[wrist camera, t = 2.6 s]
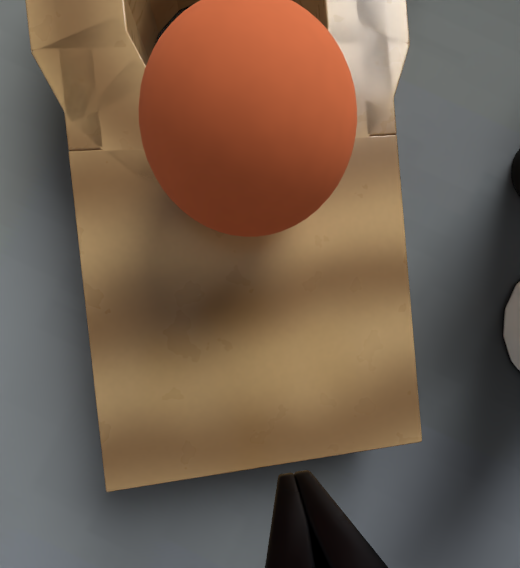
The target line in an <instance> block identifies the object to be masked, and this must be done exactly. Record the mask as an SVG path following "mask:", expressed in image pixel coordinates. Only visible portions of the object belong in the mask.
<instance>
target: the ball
mask: <svg viewBox="0 0 520 568" xmlns="http://www.w3.org/2000/svg"><path fill="white" fill-rule="evenodd" d="M138 109H139V126H140V132H141V138H142V144H143V148H144V151H145V154H146V158H147V160H148V162H149V165H150V167H151V169H152V171H153V173H154V175H155V177H156V179H157V181H158V182H159V184H160V185H161V187H162V189H163V190H164V191H165V193H166V194H167V195H168V196H169V198H170V199H171V200H172V201H173V202H174V203H175V204H176V205H177V206H178V207H179V208H180V209H181V210H182V211H183V212H185V213H186V214H187V215H189V216H190V217H191V218H193V219H194V220H195V221H197V222H199V223H201V224H202V225H204V226H206V227H208V228H211V229H213V230H216V231H218V232H221V233H225V234H229V235H235V236H243V237H257V236H265V235H271V234H274V233H278V232H281V231H284V230H286V229H288V228H291V227H293V226H295V225H297V224H298V223H300V222H302V221H303V220H305V219H307V218H308V217H309V216H311V215H312V214H313V213H314V212H316V211H317V210H318V209H319V208H320V207H321V206H322V204H323V203H324V202H325V201H326V200H327V199H328V198H329V197H330V195H331V194H332V193H333V191H334V190H335V189H336V187H337V186H338V184H339V182H340V180H341V178H342V176H343V175H344V172H345V170H346V168H347V165H348V163H349V160H350V158H351V154H352V150H353V146H354V142H355V136H356V127H357V103H356V95H355V88H354V83H353V80H352V76H351V72H350V70H349V67H348V65H347V62H346V60H345V57H344V55H343V53H342V51H341V49H340V47H339V46H338V44H337V42H336V41H335V39H334V38H333V36H332V35H331V34H330V32H329V31H328V30H327V29H326V28H325V26H324V25H323V24H322V23H321V22H320V21H319V20H318V19H317V18H316V17H314V16H313V15H312V14H311V13H310V12H309V11H307V10H306V9H305V8H303V7H302V6H300V5H299V4H297V3H296V2H294V1H292V0H200V1H198V2H197V3H195V4H193V5H192V6H190V7H189V8H187V9H186V10H185V11H183V12H182V13H181V14H180V15H179V16H178V17H177V18H176V19H175V20H174V21H173V22H172V23H171V24H170V25H169V26H168V28H167V29H166V30H165V31H164V33H163V34H162V35H161V36H160V38H159V40H158V41H157V43H156V45H155V47H154V48H153V50H152V53H151V55H150V58H149V60H148V63H147V65H146V68H145V70H144V74H143V78H142V82H141V88H140V97H139V107H138Z"/></svg>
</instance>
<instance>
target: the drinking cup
mask: <svg viewBox="0 0 520 568" xmlns="http://www.w3.org/2000/svg"><path fill="white" fill-rule="evenodd" d="M512 179H513V183H514V186H515V189H516V191H517V193H518V194H519V196H520V149H519V151H518V152H517V154H516V156H515V158H514V161H513V166H512Z"/></svg>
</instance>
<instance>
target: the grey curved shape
mask: <svg viewBox="0 0 520 568" xmlns="http://www.w3.org/2000/svg"><path fill="white" fill-rule="evenodd" d="M503 337H504V340H505V344H506V347H507V350H508V353H509V357H510V360H511V361H512V362H513V364H514V365H515V366H516V367H517V369H518V370H519V371H520V282H518V283H517V284H516V285H515V288H514V290H513V292H512V294H511V297H510V299H509V301H508V303H507V305H506V308H505V314H504V327H503Z"/></svg>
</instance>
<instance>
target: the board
mask: <svg viewBox="0 0 520 568" xmlns="http://www.w3.org/2000/svg"><path fill="white" fill-rule="evenodd" d="M25 1H26V10H27V19H28V28H29V36H30V45H31V51H32V55H33V56H34V58H35V60H36V62H37V64H38V65H39V67H40V69H41V71H42V73H43V75H44V76H45V78H46V80H47V82H48V84H49V85H50V87H51V89H52V91H53V93H54V94H55V96H56V98H57V100H58V102H59V103H60V105H61V107H62V109H63V111H64V114H65V123H66V132H67V141H68V149H69V151H70V152H69V161H70V170H71V179H72V188H73V197H74V206H75V215H76V224H77V233H78V242H79V251H80V260H81V269H82V278H83V287H84V296H85V305H86V314H87V323H88V332H89V341H90V350H91V359H92V368H93V378H94V387H95V396H96V405H97V414H98V423H99V432H100V441H101V450H102V459H103V468H104V477H105V486H106V492H111V491H117V490H123V489H130V488H136V487H142V486H148V485H155V484H161V483H167V482H173V481H180V480H186V479H192V478H198V477H205V476H211V475H217V474H223V473H230V472H236V471H242V470H248V469H255V468H261V467H267V466H273V465H280V464H286V463H292V462H298V461H305V460H311V459H317V458H323V457H330V456H336V455H342V454H348V453H355V452H361V451H367V450H373V449H379V448H386V447H392V446H398V445H404V444H411V443H417V442H422V435H421V423H420V411H419V399H418V387H417V375H416V363H415V351H414V339H413V327H412V315H411V303H410V291H409V279H408V267H407V255H406V243H405V231H404V219H403V206H402V194H401V182H400V170H399V158H398V146H397V136H396V122H395V110H394V95H395V92H396V89H397V85H398V82H399V79H400V75H401V72H402V69H403V65H404V62H405V59H406V55H407V52H408V49H409V30H408V18H407V6H406V0H292V1H294V2H296V3H297V4H299V5H300V6H302V7H303V8H305V9H306V10H307V11H309V12H310V13H311V14H312V15H313V16H314V17H316V18H317V19H318V20H319V21H320V22H321V23H322V24H323V25H324V26H325V28H326V29H327V30H328V31H329V32H330V34H331V35H332V36H333V38H334V39H335V41H336V42H337V44H338V46H339V47H340V49H341V51H342V53H343V55H344V57H345V60H346V62H347V65H348V67H349V70H350V72H351V76H352V80H353V83H354V88H355V95H356V103H357V127H356V136H355V142H354V146H353V150H352V154H351V158H350V160H349V163H348V165H347V168H346V170H345V172H344V175H343V176H342V178H341V180H340V182H339V184H338V186H337V187H336V189H335V190H334V191H333V193H332V194H331V195H330V197H329V198H328V199H327V200H326V201H325V202H324V203H323V204H322V206H321V207H320V208H319V209H318V210H317V211H316V212H314V213H313V214H312V215H311V216H309V217H308V218H307V219H305V220H303V221H302V222H300V223H298V224H297V225H295V226H293V227H291V228H288V229H286V230H284V231H281V232H278V233H274V234H271V235H265V236H257V237H243V236H235V235H229V234H225V233H221V232H218V231H216V230H213V229H211V228H208V227H206V226H204V225H202V224H201V223H199V222H197V221H195V220H194V219H193V218H191V217H190V216H189V215H187V214H186V213H185V212H183V211H182V210H181V209H180V208H179V207H178V206H177V205H176V204H175V203H174V202H173V201H172V200H171V199H170V198H169V196H168V195H167V194H166V193H165V191H164V190H163V189H162V187H161V185H160V184H159V182H158V181H157V179H156V177H155V175H154V173H153V171H152V169H151V167H150V165H149V162H148V160H147V158H146V154H145V151H144V148H143V144H142V138H141V132H140V126H139V109H138V107H139V97H140V88H141V82H142V78H143V74H144V70H145V68H146V65H147V63H148V60H149V58H150V55H151V53H152V50H153V48H154V46H155V43H156V40H157V36H158V33H159V32H160V31H161V30H162V29H163V28H164V27H165V25H166V24H167V23H168V22H169V21H170V20H171V19H172V18H173V16H174V15H175V14H176V13H177V12H178V11H179V10H181V9H183V8H185V7H188V6H190V5H192V4H194V3H197V2H198V1H200V0H25Z"/></svg>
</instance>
